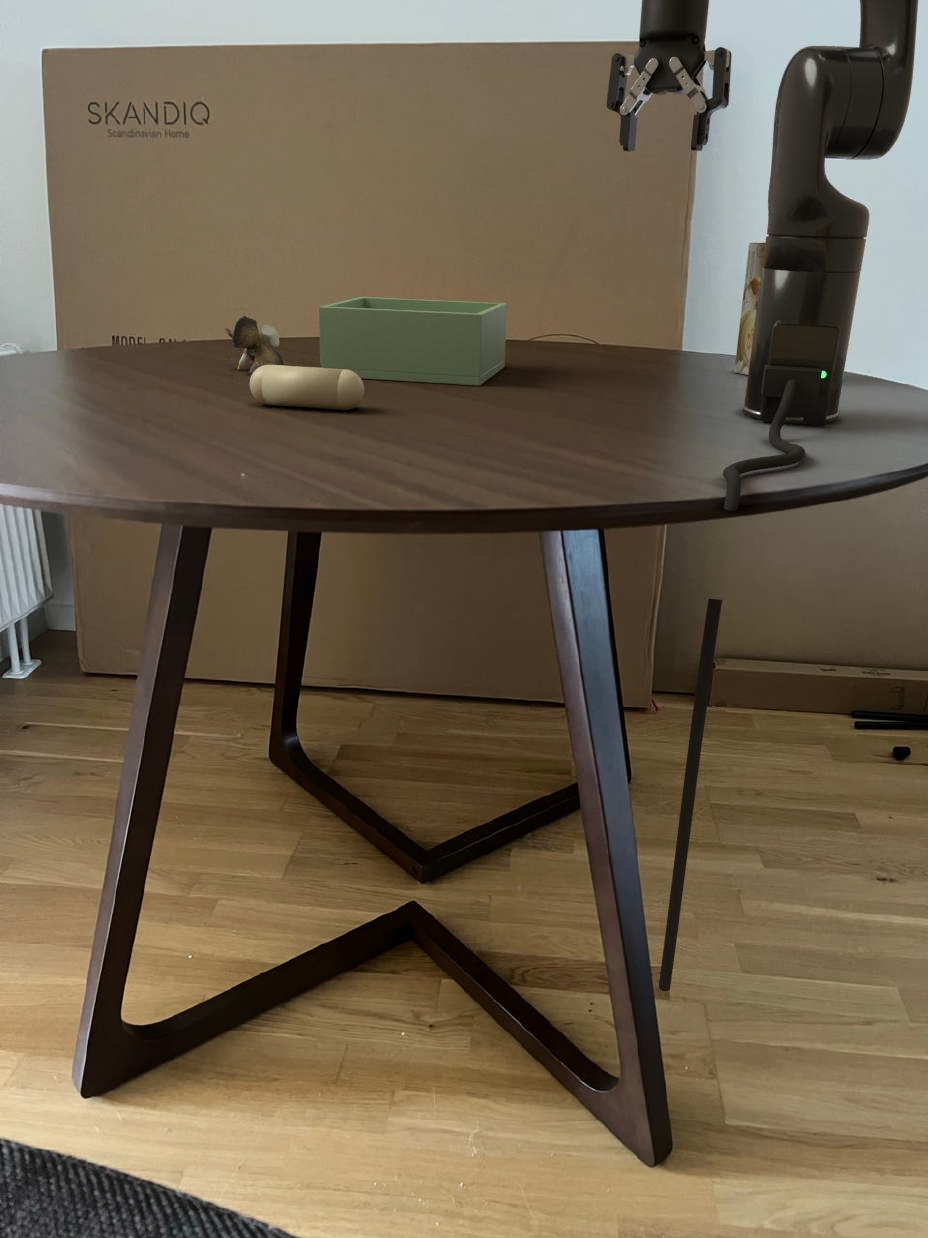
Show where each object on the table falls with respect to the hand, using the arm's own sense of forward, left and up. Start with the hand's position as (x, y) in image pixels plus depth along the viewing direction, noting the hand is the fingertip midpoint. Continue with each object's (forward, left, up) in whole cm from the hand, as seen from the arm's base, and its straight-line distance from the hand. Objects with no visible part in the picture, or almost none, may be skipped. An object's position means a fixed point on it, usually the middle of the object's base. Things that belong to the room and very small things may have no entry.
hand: (662, 150), depth 118 cm
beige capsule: (-37, +31, -26) cm, 55 cm away
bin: (-10, +27, -26) cm, 39 cm away
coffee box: (+3, -17, -26) cm, 31 cm away
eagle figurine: (-16, +46, -26) cm, 56 cm away
